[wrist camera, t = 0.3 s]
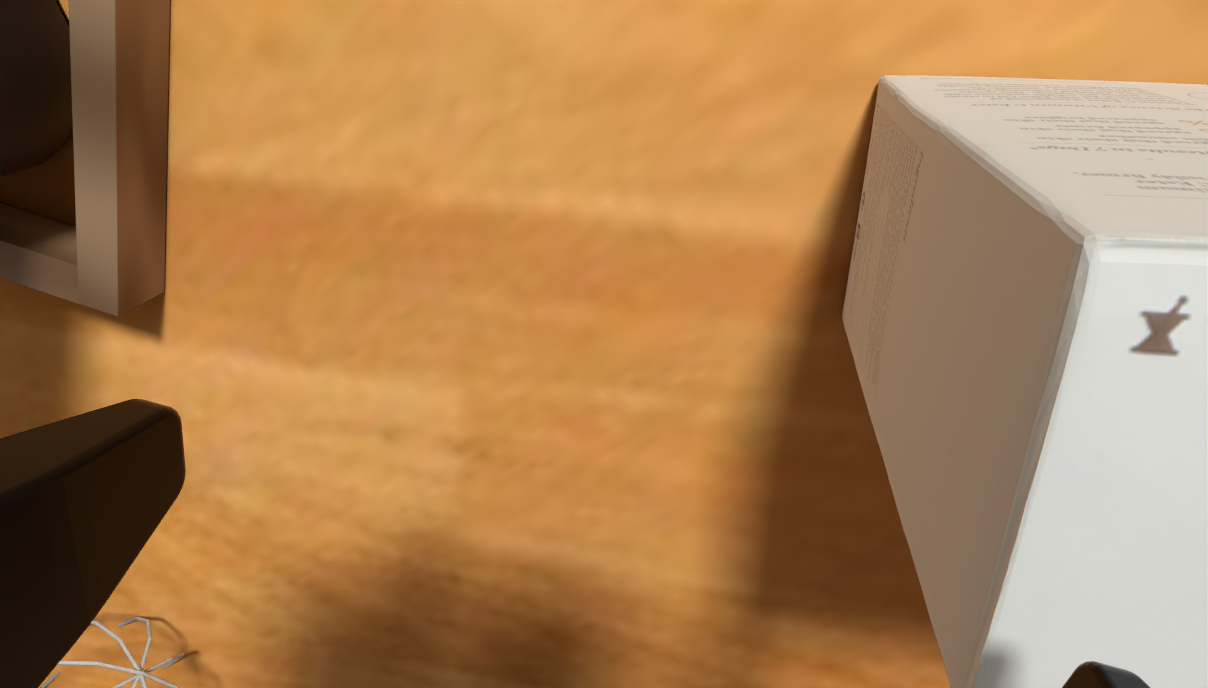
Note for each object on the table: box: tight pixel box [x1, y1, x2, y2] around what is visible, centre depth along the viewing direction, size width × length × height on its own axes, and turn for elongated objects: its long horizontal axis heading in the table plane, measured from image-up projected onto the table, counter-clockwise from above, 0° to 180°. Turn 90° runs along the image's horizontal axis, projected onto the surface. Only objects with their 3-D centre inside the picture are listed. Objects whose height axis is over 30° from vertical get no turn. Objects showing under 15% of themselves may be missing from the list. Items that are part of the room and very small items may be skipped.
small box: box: [842, 75, 1208, 688], centre depth 14 cm, size 8×6×13 cm
